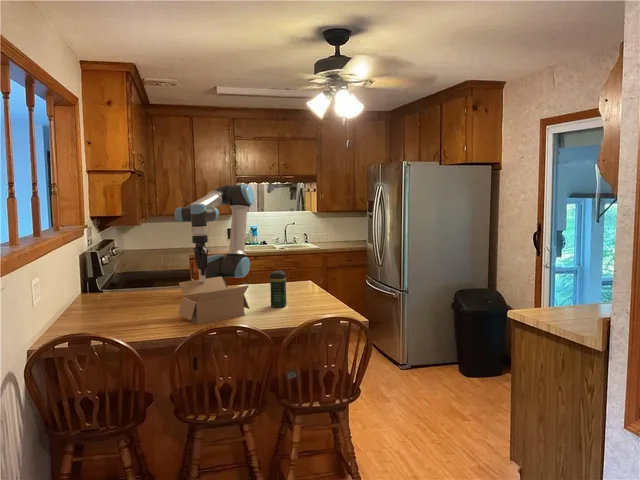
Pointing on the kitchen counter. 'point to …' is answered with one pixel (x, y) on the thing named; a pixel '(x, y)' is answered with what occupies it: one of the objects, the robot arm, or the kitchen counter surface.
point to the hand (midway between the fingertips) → (202, 281)
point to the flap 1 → (202, 286)
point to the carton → (212, 309)
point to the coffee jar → (278, 289)
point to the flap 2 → (223, 293)
